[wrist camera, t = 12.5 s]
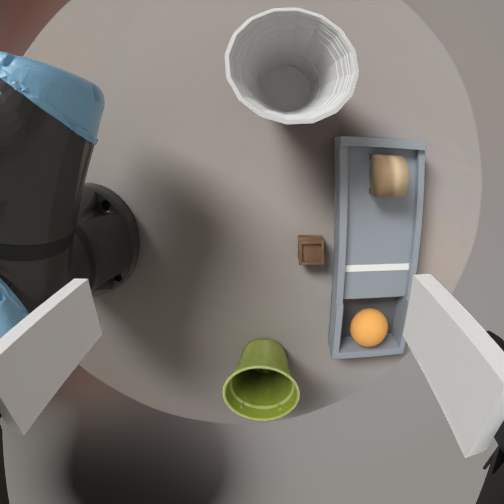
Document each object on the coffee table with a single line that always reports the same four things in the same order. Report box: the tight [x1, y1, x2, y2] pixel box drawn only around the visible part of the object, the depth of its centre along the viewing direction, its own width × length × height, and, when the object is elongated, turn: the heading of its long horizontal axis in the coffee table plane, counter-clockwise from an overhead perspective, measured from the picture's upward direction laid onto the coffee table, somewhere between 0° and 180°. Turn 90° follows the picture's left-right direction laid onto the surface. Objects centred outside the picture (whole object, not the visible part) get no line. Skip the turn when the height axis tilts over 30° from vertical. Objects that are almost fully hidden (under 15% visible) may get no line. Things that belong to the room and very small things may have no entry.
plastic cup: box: [225, 8, 359, 125], centre depth 27 cm, size 11×11×12 cm
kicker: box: [369, 154, 409, 197], centre depth 31 cm, size 3×4×4 cm
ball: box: [350, 308, 388, 347], centre depth 39 cm, size 5×5×5 cm
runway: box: [328, 136, 427, 359], centre depth 36 cm, size 10×27×4 cm, turn 3°
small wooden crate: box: [298, 235, 324, 265], centre depth 37 cm, size 3×3×3 cm
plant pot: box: [222, 339, 300, 421], centre depth 40 cm, size 9×9×9 cm
